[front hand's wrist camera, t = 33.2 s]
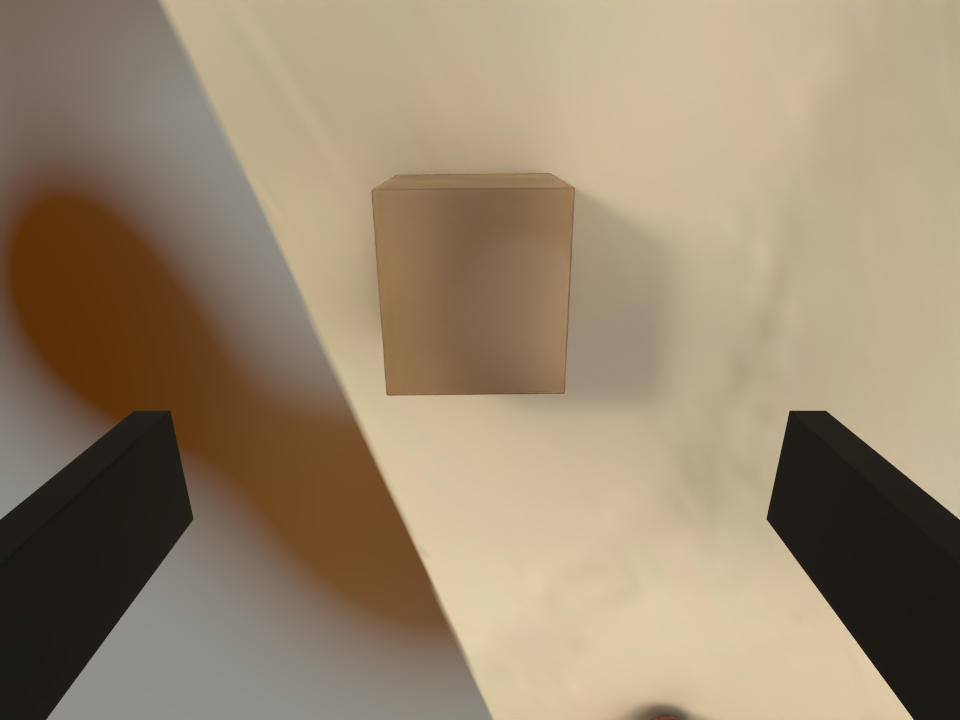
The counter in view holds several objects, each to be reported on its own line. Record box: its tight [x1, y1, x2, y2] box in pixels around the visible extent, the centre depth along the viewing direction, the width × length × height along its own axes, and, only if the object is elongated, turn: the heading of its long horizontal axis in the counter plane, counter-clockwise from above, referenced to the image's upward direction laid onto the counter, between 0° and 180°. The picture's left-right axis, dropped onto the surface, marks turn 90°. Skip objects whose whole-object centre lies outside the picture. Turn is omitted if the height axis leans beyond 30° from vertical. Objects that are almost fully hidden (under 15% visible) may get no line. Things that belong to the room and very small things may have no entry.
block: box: [372, 174, 575, 395], centre depth 28 cm, size 8×9×8 cm
